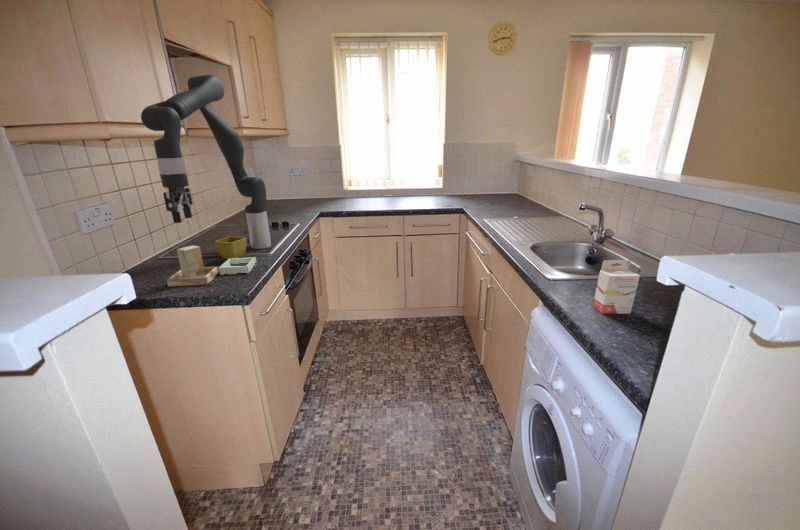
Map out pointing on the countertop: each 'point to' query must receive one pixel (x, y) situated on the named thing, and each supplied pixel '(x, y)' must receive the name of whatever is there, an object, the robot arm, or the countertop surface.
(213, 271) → the frame
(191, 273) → the skincare box
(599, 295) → the ink cartridge box
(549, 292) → the countertop surface
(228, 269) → the parts tray
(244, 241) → the flower pot
